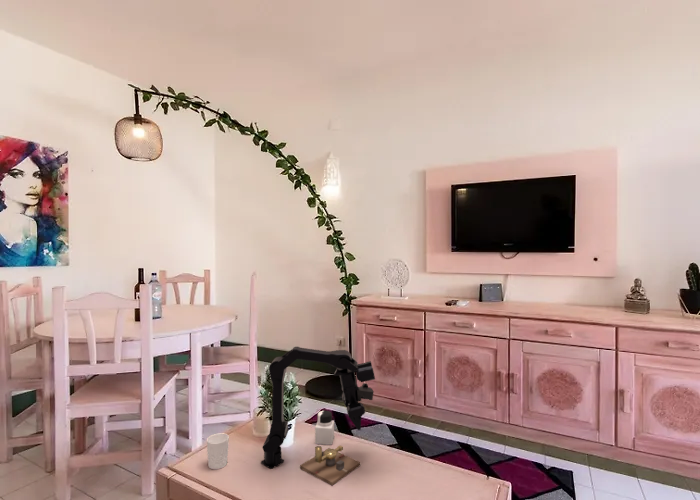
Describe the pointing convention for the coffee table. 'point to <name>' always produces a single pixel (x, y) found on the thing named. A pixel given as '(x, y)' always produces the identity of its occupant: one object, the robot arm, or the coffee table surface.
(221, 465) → the white cup
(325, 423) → the medicine bottle
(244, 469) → the coffee table surface
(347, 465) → the post base
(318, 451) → the crank handle
